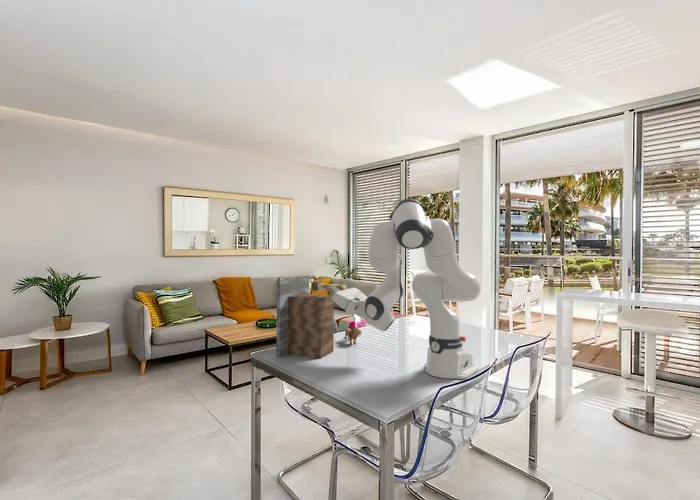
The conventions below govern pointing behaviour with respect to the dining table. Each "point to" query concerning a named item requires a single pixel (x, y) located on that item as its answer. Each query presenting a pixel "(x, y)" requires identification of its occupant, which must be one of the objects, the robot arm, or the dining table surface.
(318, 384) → the dining table surface
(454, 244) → the robot arm
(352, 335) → the lion figurine
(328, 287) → the light wooden bar
